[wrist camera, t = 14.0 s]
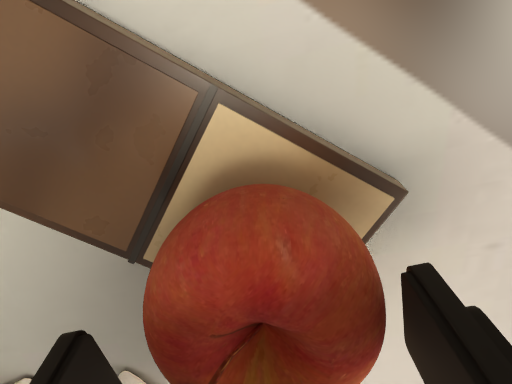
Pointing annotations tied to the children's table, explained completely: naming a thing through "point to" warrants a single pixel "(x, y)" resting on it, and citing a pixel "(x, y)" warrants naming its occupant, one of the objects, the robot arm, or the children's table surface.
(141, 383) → the cloth
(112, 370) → the robot arm
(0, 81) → the board
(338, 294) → the apple
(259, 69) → the children's table surface
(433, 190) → the children's table surface
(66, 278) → the children's table surface
